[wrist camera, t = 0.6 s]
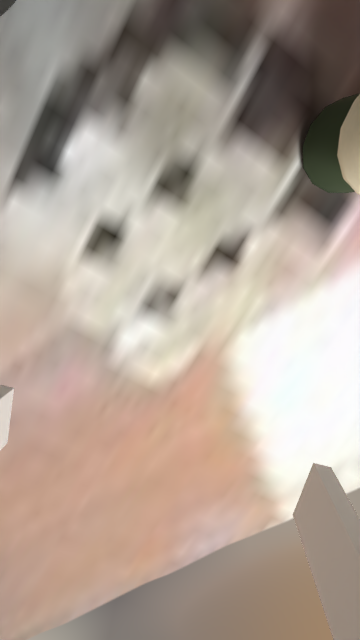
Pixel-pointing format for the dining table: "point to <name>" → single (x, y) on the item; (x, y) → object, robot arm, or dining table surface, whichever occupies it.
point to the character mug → (335, 147)
